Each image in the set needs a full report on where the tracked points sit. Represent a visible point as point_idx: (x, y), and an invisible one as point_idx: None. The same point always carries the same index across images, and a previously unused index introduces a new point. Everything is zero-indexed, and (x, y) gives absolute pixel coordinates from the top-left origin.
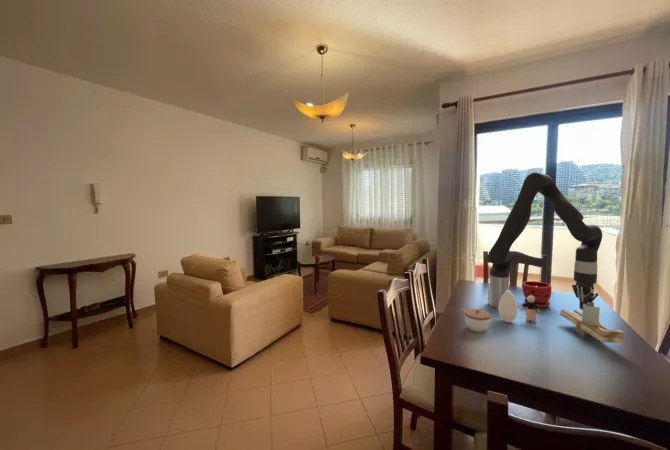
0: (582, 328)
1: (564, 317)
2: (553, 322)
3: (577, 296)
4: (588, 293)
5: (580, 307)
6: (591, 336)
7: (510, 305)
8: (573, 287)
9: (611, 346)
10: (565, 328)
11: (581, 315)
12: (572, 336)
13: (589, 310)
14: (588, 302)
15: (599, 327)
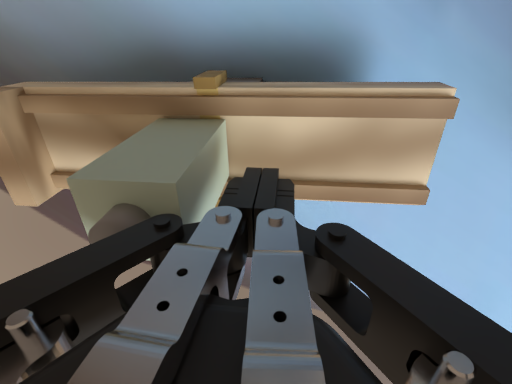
0: (179, 82)
1: (379, 82)
2: (428, 31)
3: (319, 235)
4: (12, 327)
5: (263, 172)
6: None
7: None
8: (500, 357)
9: None
10: (328, 59)
11: (334, 183)
12: (216, 31)
13: (94, 161)
14: (121, 223)
15: None
